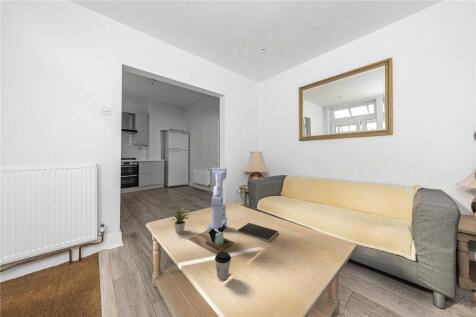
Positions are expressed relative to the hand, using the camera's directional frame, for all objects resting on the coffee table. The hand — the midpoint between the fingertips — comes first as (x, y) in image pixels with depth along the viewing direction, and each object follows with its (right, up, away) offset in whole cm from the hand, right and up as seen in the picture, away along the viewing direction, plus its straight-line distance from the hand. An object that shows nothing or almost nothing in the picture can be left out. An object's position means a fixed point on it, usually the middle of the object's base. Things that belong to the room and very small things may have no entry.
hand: (216, 239), depth 99 cm
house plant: (-28, -3, +15) cm, 32 cm away
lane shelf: (-4, -3, +3) cm, 6 cm away
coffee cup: (+6, -4, -26) cm, 27 cm away
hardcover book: (+26, -4, +17) cm, 32 cm away
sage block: (0, -2, 0) cm, 2 cm away
